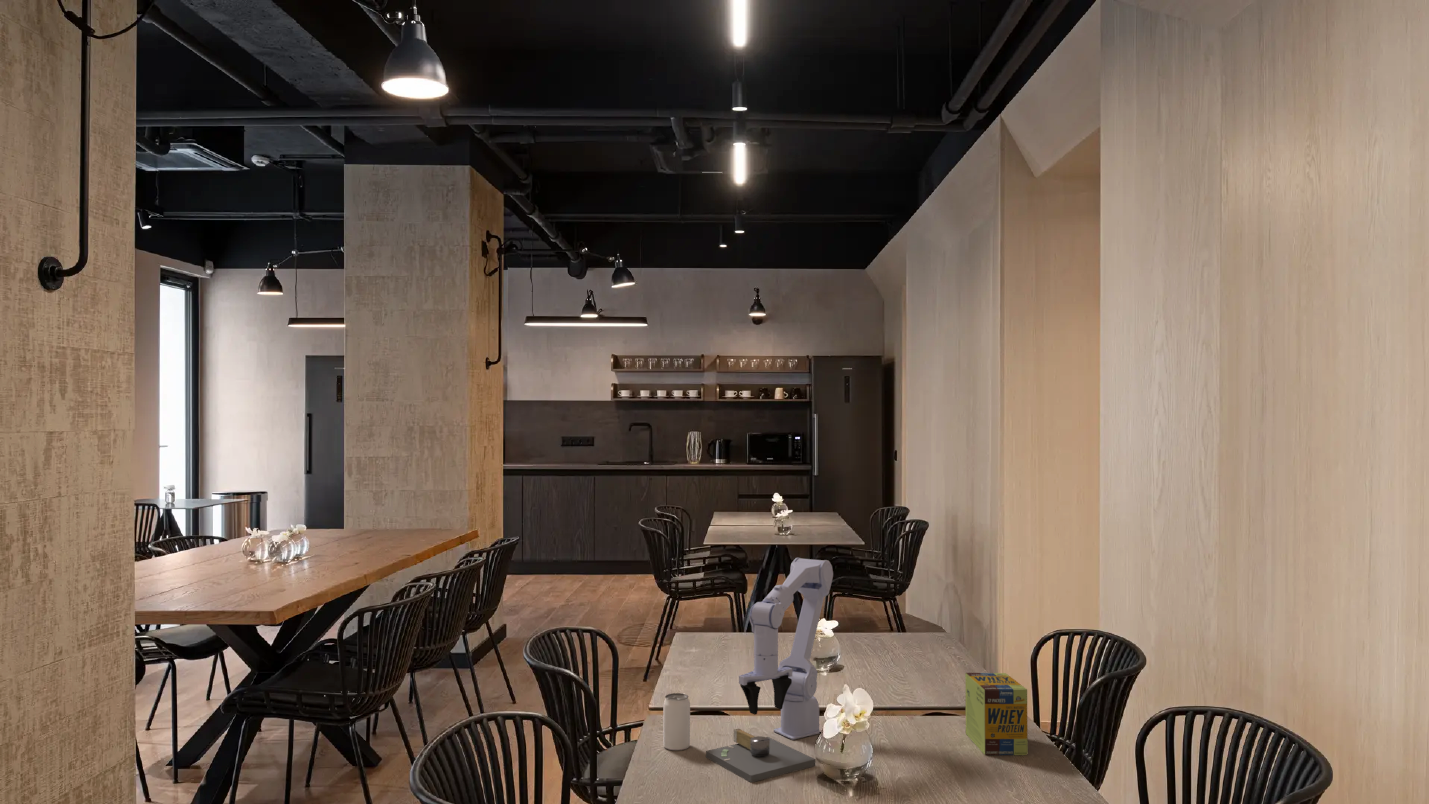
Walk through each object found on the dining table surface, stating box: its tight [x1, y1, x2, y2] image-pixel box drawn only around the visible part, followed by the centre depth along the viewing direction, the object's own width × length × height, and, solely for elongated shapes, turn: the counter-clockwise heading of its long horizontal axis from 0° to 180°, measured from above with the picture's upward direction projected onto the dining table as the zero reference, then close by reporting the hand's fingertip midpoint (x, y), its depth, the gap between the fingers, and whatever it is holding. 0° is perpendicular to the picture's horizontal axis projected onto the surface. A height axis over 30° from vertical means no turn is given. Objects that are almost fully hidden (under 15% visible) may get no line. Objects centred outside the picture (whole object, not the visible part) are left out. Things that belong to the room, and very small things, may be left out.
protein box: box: [964, 672, 1029, 756], centre depth 221 cm, size 10×15×16 cm
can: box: [662, 692, 691, 752], centre depth 219 cm, size 6×6×12 cm
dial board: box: [705, 736, 816, 783], centre depth 209 cm, size 18×18×2 cm
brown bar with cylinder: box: [733, 728, 770, 756], centre depth 212 cm, size 4×12×3 cm, turn 33°
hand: (766, 710), depth 216 cm, fingers open, 7 cm apart
